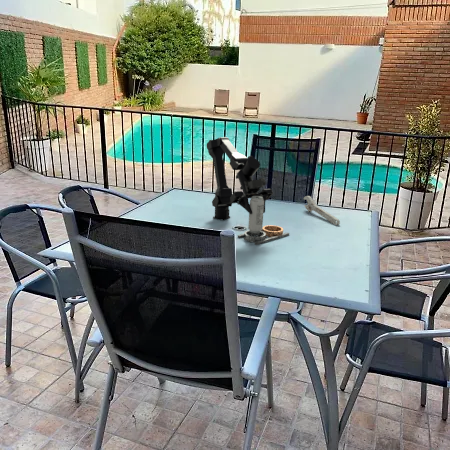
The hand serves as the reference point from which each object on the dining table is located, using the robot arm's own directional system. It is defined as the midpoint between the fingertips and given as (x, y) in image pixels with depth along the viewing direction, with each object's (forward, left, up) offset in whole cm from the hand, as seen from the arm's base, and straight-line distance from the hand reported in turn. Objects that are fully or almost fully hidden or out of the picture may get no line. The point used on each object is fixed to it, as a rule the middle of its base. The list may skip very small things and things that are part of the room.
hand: (257, 213), depth 181 cm
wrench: (+9, +51, -12) cm, 54 cm away
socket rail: (0, +6, -12) cm, 14 cm away
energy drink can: (-1, +1, -9) cm, 9 cm away
